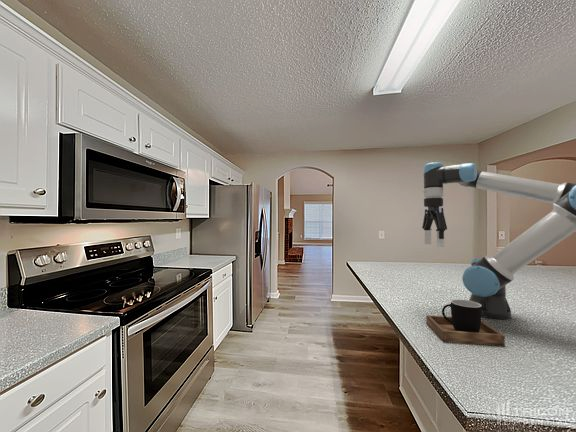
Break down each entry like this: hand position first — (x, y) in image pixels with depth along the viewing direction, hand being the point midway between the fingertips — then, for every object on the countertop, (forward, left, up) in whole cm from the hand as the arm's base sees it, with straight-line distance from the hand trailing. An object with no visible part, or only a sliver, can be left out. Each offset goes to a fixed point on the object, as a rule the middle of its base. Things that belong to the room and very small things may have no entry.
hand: (433, 245), depth 117 cm
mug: (0, +24, -28) cm, 37 cm away
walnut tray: (0, +25, -29) cm, 38 cm away
